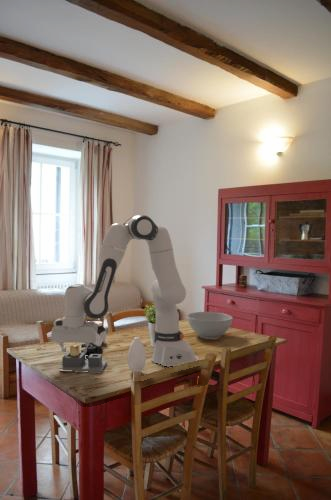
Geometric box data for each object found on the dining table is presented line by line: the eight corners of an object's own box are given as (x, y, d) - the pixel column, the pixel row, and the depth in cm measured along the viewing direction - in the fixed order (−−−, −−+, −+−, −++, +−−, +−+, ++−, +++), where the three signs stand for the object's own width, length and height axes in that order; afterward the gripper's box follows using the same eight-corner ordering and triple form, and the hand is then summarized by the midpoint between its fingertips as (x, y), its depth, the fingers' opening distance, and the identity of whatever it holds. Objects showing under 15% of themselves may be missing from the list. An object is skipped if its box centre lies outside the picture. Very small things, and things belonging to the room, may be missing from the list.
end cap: (102, 359, 184) (103, 345, 184) (88, 362, 180) (89, 347, 180) (94, 354, 193) (94, 340, 192) (80, 356, 189) (80, 342, 188)
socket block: (106, 363, 178) (107, 352, 178) (101, 373, 166) (101, 360, 166) (68, 362, 179) (68, 350, 179) (59, 371, 167) (59, 358, 167)
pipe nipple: (80, 362, 175) (80, 345, 174) (77, 365, 171) (78, 347, 170) (71, 362, 175) (71, 344, 175) (68, 365, 171) (69, 347, 171)
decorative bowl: (179, 333, 237) (179, 313, 236) (216, 329, 248) (216, 310, 248) (201, 344, 212) (201, 322, 212) (241, 340, 224) (242, 319, 223)
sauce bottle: (145, 369, 171) (146, 329, 171) (145, 376, 164) (146, 334, 163) (127, 369, 171) (128, 329, 170) (126, 376, 163) (127, 333, 163)
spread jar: (99, 340, 217) (99, 319, 216) (111, 344, 209) (111, 323, 208) (80, 344, 208) (81, 323, 208) (92, 349, 200) (93, 326, 200)
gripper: (99, 320, 175) (99, 350, 175) (54, 318, 176) (54, 349, 176) (96, 323, 168) (95, 354, 169) (49, 321, 169) (49, 353, 170)
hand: (74, 351), depth 173 cm, fingers open, 8 cm apart
